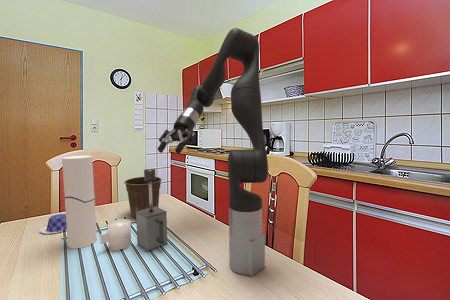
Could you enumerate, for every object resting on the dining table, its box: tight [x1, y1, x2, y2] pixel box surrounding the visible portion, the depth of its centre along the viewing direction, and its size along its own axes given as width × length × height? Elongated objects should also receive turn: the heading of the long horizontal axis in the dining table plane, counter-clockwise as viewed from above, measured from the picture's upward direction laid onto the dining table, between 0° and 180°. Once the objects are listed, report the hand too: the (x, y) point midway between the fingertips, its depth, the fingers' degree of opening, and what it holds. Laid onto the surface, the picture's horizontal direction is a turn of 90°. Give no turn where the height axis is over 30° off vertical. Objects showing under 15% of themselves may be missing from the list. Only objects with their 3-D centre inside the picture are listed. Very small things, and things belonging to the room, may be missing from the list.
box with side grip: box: [135, 206, 168, 253], centre depth 77 cm, size 10×7×12 cm
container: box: [61, 155, 98, 250], centre depth 79 cm, size 9×9×30 cm
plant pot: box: [123, 176, 163, 219], centre depth 106 cm, size 16×16×16 cm
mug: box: [99, 218, 132, 252], centre depth 76 cm, size 7×9×8 cm
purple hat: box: [39, 213, 67, 235], centre depth 92 cm, size 12×12×5 cm
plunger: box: [143, 168, 157, 213], centre depth 77 cm, size 5×5×16 cm
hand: (167, 151), depth 85 cm, fingers open, 8 cm apart
